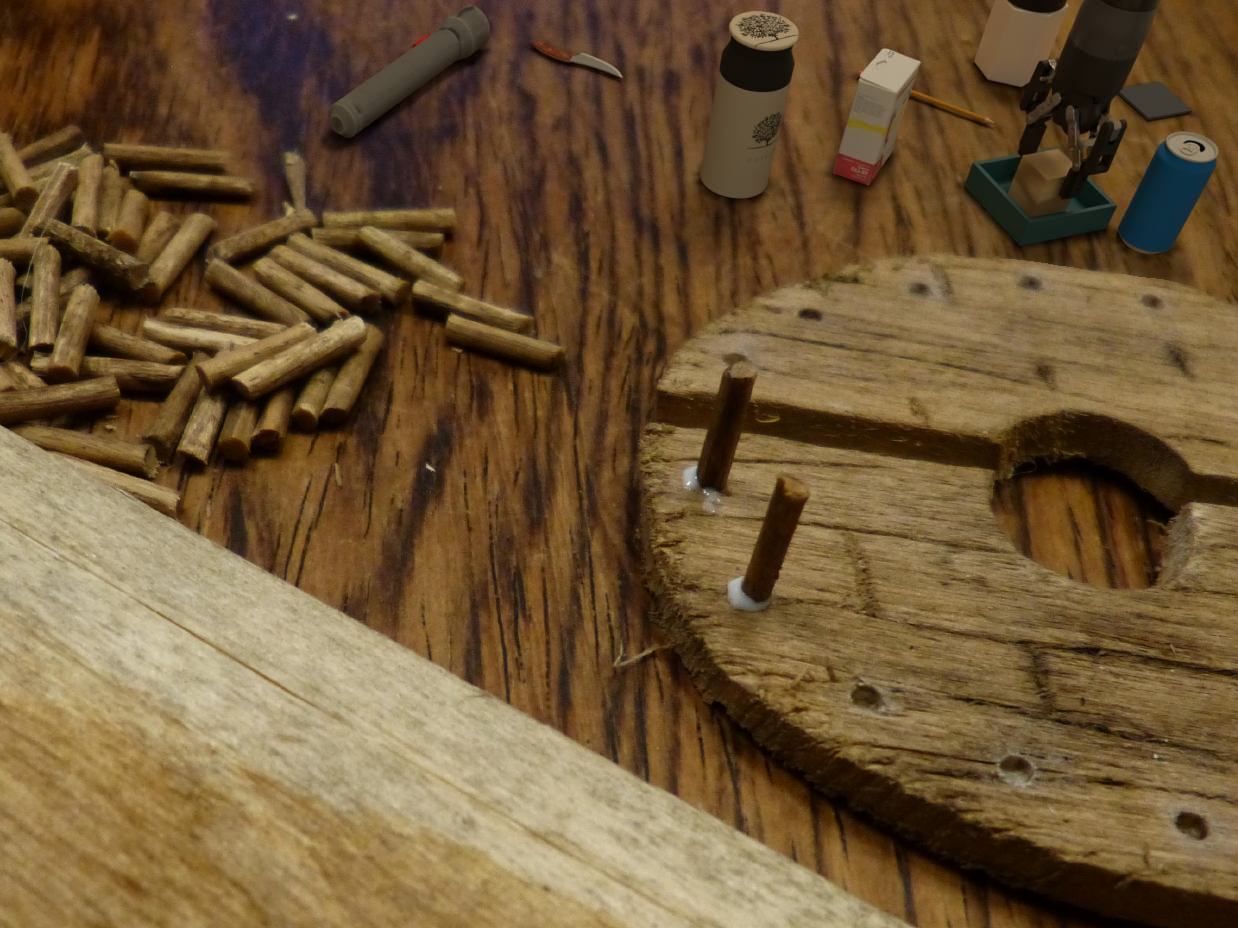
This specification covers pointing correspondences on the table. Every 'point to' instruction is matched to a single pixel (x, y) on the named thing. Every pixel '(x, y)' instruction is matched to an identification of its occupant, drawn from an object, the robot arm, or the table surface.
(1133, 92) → the mat
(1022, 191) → the beech block
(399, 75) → the flashlight
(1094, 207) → the tray
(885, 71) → the ink box
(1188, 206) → the beverage can
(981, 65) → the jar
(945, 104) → the pencil
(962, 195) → the table surface
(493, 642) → the table surface
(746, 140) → the travel mug
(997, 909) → the table surface
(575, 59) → the knife
